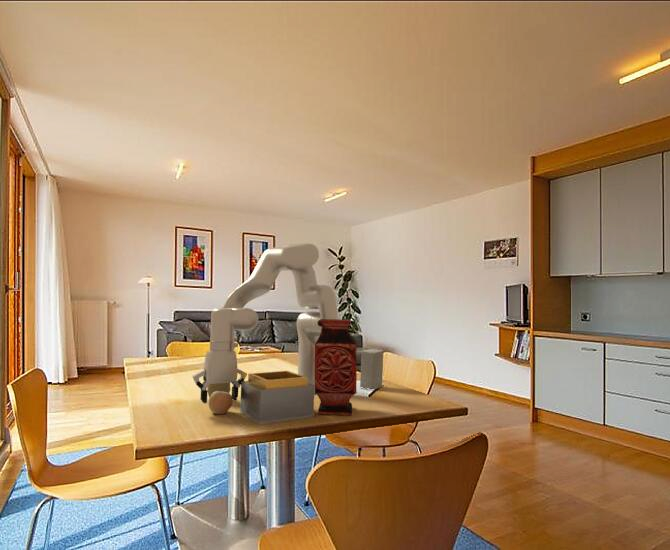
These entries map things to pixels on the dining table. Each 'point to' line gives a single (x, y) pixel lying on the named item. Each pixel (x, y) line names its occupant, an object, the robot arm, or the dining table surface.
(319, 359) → the vase
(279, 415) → the box
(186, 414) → the dining table surface
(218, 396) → the fruit
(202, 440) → the dining table surface
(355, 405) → the dining table surface
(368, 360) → the skincare box
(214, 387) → the squeeze bottle
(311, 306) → the robot arm
